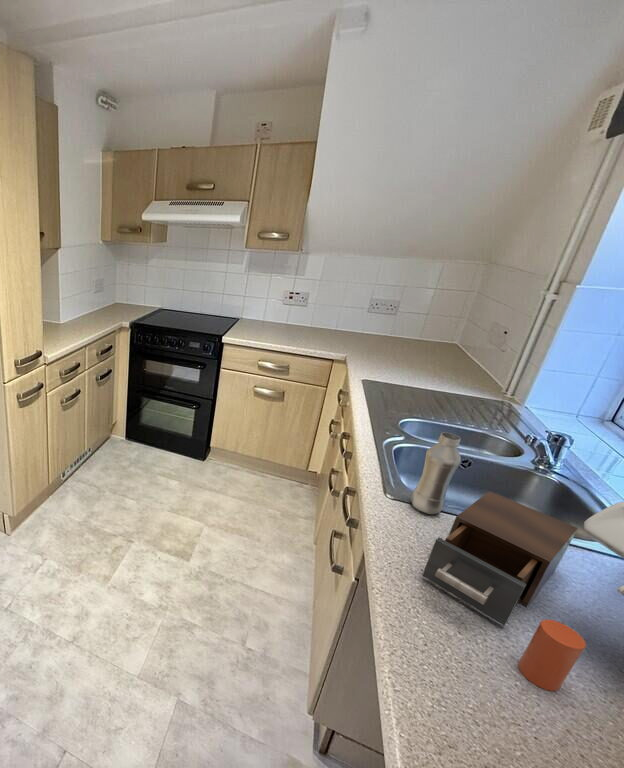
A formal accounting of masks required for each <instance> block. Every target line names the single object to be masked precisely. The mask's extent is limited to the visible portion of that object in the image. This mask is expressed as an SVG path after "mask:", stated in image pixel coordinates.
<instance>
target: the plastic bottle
mask: <svg viewBox="0 0 624 768" xmlns="http://www.w3.org/2000/svg"><path fill="white" fill-rule="evenodd" d="M437 442H438V443H436V444H433V445H432V446H430V447H429V448H428V449H427V450H426V453H425V459H424V465H423V470H422V473H421V476H420V479H419V480H418V483H417V485H416V486H415V487H414V489H413V491H412V493H411V497H410V502H411V504H412V506H413V507H414V508H415V509H416V510H418V511H420V512H422V513H424V514H428V515H438V514H439V513H441V512H442V511H443V509H444V508H445V504H446V495H447V493H448V488H449V485H450V482H451V481H452V479H453V477H454V475H455V473H456V471H457V469H459V467H460V465H461V463H462V458H461V453H460V452H459V450H458V448H459V447H460V443H461V437H460V436H458V435H457V434H454V433H451V432H441V433H440V435H439V437H438V439H437Z"/></svg>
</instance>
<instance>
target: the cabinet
mask: <svg viewBox="0 0 624 768" xmlns="http://www.w3.org/2000/svg"><path fill="white" fill-rule="evenodd" d="M463 524H465V525H467V526H469V527H472V528H474V529H476V530H478V531H480V532H482V533H484V534H486V535H488V536H490V537H492V538H494V539H496V540H498V541H500V542H502V543H504V544H506V545H508V546H510V547H512V548H514V549H517V550H519V551H521V552H523V553H525V554H527V555H529V556H531V557H533V558H535V559H537V560H539V561H541V562H542V563H541V565H540V567H539V569H538V570H537V572H536V574H535V576H534V578H533V580H532V582H531V584H530V585H529V586H528V587H527V589H526V590H525V591H524V592H523V594H522V595H521V596H520V598H519V600H518V602H517V603H519V604H520V605H522V606H523V607H526V608H527V607H528V606H529V605H530V604H531V602H532V601H533V600H534V599H535V597H536V596H537V595H538V594H539V592H540V591H541V590H542V589H543V587H544V586H545V584H546V583H547V582H548V580H549V579H550V578H551V577H552V575H553V574H554V573H555V571H556V570H557V568H558V566H559V564H560V563H561V561H562V559H563V557H564V556H565V553H566V552H567V550H568V548H569V546H570V544H571V542H572V541H573V539H574V536H575V535H576V533H577V531H578V529H579V528H578V527H577V526H574V525H572V524H570V523H567V522H564V521H562V520H560V519H557V518H556V517H553V516H551V515H548V514H546V513H544V512H541V511H539V510H536V509H533V508H532V507H529V506H526V505H524V504H522V503H519V502H517V501H515V500H512V499H510V498H508V497H505V496H503V495H500V494H497V493H495V492H494V491H490V490H488V491H487V492H485V493H484V494H483V495H482V496H480V497H479V498H478V499H477V500H475V501H474V502H473V503H472V504H471V505H469V506H468V507H467V508H465V509H464V510H463V511H461V512H460V513H458V514H457V515H456V516H455V519H454V521H453V524H452V526H451V529H450V531H449V534H448V536H449V535H450V534H452V533H453V532H454V531H455V530H457V529H458V528H459V527H460V526H462V525H463Z"/></svg>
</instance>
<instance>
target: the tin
mask: <svg viewBox="0 0 624 768" xmlns="http://www.w3.org/2000/svg"><path fill="white" fill-rule="evenodd" d="M586 643H587V642H586V641H585V639H584V638H583V637H582V636H581V635H580V634H579V633H578V632H577V631H575V630H574V629H572V628H571V627H569V626H567V625H566V624H564V623H562V622H559V621H556V620H553V619H543V620H541V621H540V623H539V624H538V627H537V628H536V630H535V632H534V634H533V636H532V637H531V639H530V641H529V642H528V645H527V646H526V648H525V650H524V652H523V654H522V656H521V657H520V659H519V661H518V663H517V667H518V670H519V671H520V673H521V675H523V676H524V678H525V679H527V680H528V681H529V682H531V683H532V684H533V685H535V686H537V687H538V688H541V689H542V690H546V691H549V692H556V691H559V690H560V688H561V687H562V685H563V684H564V682H565V680H566V679H567V677H568V676H569V674H570V672H571V671H572V669H573V668H574V666H575V664H576V663H577V661H578V659H579V658H580V657H581V655H582V653H583V652H584V650H585V648H586V646H587V644H586Z"/></svg>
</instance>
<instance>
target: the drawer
mask: <svg viewBox="0 0 624 768" xmlns="http://www.w3.org/2000/svg"><path fill="white" fill-rule="evenodd" d="M541 563H542V562H541V561H539V560H537V559H535V558H533V557H531V556H529V555H527V554H525V553H523V552H521V551H519V550H517V549H514V548H512V547H510V546H508V545H506V544H504V543H502V542H500V541H498V540H496V539H494V538H492V537H490V536H488V535H486V534H484V533H482V532H480V531H478V530H476V529H474V528H472V527H469V526H467V525H465V524H463V525H462V526H460V527H459V528H458V529H457V530H455V531H454V532H453V533H452V534H450V535H449V534H448V536H447V537H446V538H445V539H443V538H441V537H437V538H436V539H435V541H434V544H433V546H432V549H431V551H430V553H429V556H428V560H427V562H426V565H425V567H424V570H423V573H422V575H421V576H422V577H424V578H425V579H426V580H428V581H430V582H432V583H433V584H434V585H436V586H438V587H440V588H441V589H443V590H445V591H446V592H448V593H450V594H451V595H453V596H454V597H456V598H458V599H459V600H461V601H463V602H464V603H466V604H468V605H469V606H470V607H473V608H474V609H476V610H478V611H479V612H480V613H482V614H484V615H485V616H487V617H489V618H490V619H492V620H494V621H495V622H497V623H498V624H499V625H502V626H503V627H504V626H506V624H507V623H508V621H509V619H510V617H511V616H512V614H513V612H514V610H515V607H516V605H517V603H518V600H519V598H520V596H521V595H522V594H523V592H524V591H525V590H526V589H527V587H528V586H529V585H530V584H531V582H532V580H533V578H534V576H535V574H536V572H537V570H538V569H539V567H540V565H541Z"/></svg>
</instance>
